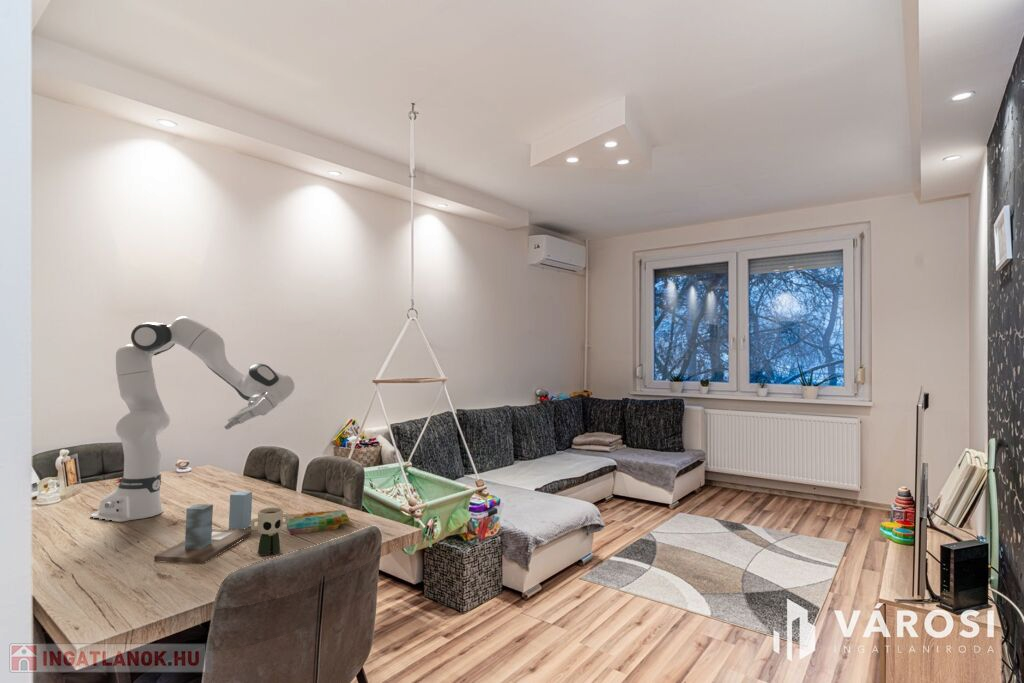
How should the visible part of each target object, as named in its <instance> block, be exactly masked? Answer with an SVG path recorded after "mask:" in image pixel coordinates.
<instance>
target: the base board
mask: <svg viewBox="0 0 1024 683" xmlns="http://www.w3.org/2000/svg"><path fill="white" fill-rule="evenodd" d="M213 511H214V504H206V503H205V504H203V503H197V504H195V505H193V506H189V507H187V508H186V516H185V535H184V538H185V539H184V541H181V542H179V543H177V544H175V545H174V546H172V547H169V548H168V549H166V550H164V551H161V552H160V553H157V554H156V555H154V558H153V561H154V562H158V561H166V562H165V563H178V562H182V564H198V563H204V564H206V563H207V562H206V561H208V560H209V561H211V560H212V559H211V558H213V557H214V558H216V557H217V556H219V555H220V554H219V553H221V552H222V553H224V552H225V551H224V550H226V549H227V550H229V549H230V548H229V547H231V546H232V545H234V544H236V543H237V542H239V541H240V540H242V539H244V538H246V537H247V538H249V537H250V536H251V535H252V530H229V529H220V528H219V529H218V528H217V529H216V528H215V529H214V528H213V513H214V512H213ZM249 535H250V536H249ZM248 536H249V537H248ZM247 538H246V539H247ZM244 540H245V539H244ZM242 541H243V540H242ZM239 543H240V542H239ZM237 544H238V543H237ZM237 544H236V545H237ZM234 546H235V545H234ZM232 547H233V546H232ZM232 547H231V548H232ZM228 548H229V549H228ZM227 550H226V551H227ZM223 551H224V552H223ZM222 553H221V554H222ZM218 554H219V555H218ZM216 555H217V556H216ZM215 556H216V557H215ZM214 558H213V559H214ZM210 559H211V560H210ZM209 561H208V562H209ZM183 562H184V563H183ZM205 562H206V563H205Z"/></svg>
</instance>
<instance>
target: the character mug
mask: <svg viewBox="0 0 1024 683" xmlns="http://www.w3.org/2000/svg"><path fill="white" fill-rule="evenodd" d="M289 514H290V513H284V508H282V507H277V506H276V507H275V506H274V507H272V506H271V507H266V508H262V509H260V510H258V512H257V518H251V526H250V531H254V530H257V532H258V534H261V535H260V537H259V542H258V548H257V553H258V554H259V555H261V556H270V555H271V553H272V555H274V554H277V553H279V552H280V551H281V543H280V535H279V532H281V531H282V529H283V526H284V525H287V524H288V523H289ZM284 518H285V520H284ZM283 520H284V521H283ZM256 522H257V526H255V523H256Z"/></svg>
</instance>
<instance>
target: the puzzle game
mask: <svg viewBox="0 0 1024 683" xmlns="http://www.w3.org/2000/svg"><path fill="white" fill-rule="evenodd" d="M288 514H289V523H288V524H286V528H287V529H286V530H288V532H289V534H290V535H296V533H298V534H303V533H304V534H306V533H305V532H307V533H313V532H312V531H316V532H322V531H321V530H325V531H332V530H331V529H334V530H337V529H338V528H339V526H340V525H345V524H348V523H350V518H349V515H348V514H347V512H346V510H345V509H338V510H326V511H314V512H313V511H311V512H310V511H307V512H303V513H301V512H300V513H288Z"/></svg>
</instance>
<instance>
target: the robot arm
mask: <svg viewBox="0 0 1024 683" xmlns="http://www.w3.org/2000/svg"><path fill="white" fill-rule="evenodd" d="M130 334H131V335H130V340H131V342H132V343H129V344H125V345H122V346H121V347H119V348H118V349H116V352H115V353H116V354H115V372H116V377H117V382H118V389H119V394H120V397H121V399H122V400H123V401H124V403H125V404H126V406H127V408H128V410H129V412H128V413H126V414H125V415H124V416H123V417H121V418H120V419H119V420H118V422H117V424H116V426H115V431H116V435H117V436H118V438H120V441H121V446H122V450H123V476H122V477H121V478H118V479H116V480H115V481H116V482H115V483H116V484H118V486H117V488H116V489H114V490H113V491H111V492H110V493H108V494H107V495H105V496H104V497H103V498H101V500H100V503H99V507H98V510H97V511H95V512H94V511H93V512H92V513H91V514H90V515H89V518H90V517H93V518H92V519H94V518H99V519H98V520H102V519H105V520H104V521H109V520H112V521H111V522H116V523H117V522H119V523H120V522H121V523H122V522H123V523H124V522H128V521H133V520H140V519H147V518H150V517H155V516H158V515H160V514H162V513H164V508H163V505H162V501H161V491H160V489H161V484H162V474H161V461H162V460H161V459H162V458H161V456H162V454H161V452H160V450H159V447H158V444H157V443H158V442H157V436H158V435H160V434H162V433H163V432H164V431H166V429H167V428H168V427H169V425H170V422H171V418H170V415H169V414H168V412H167V411H166V409H165V407H164V405H163V403H162V400H161V398H160V396H159V392H158V389H157V385H156V381H155V380H156V379H155V375H154V369H153V364H152V359H153V356H158V355H159V354H162V353H164V352H168V351H169V350H171V349H172V348H173V347H174V346H175V345H178V346H179V345H180V346H181V347H183V348H184V349H186V350H188V352H189V351H190V353H192V354H194V355H195V356H197V358H199V359H200V360H201V361H202V362H203V363H204V364H205V365H206V367H208V369H209V370H211V372H213V373H214V374H215V375H216V376H217V377H219V379H221V380H223V381H224V382H225V383H227V384H228V385H229V386H230V387H232V388H233V389H234V390H235V391H236V392H237V394H238V395H239V397H240V398H242V399H243V400H245V401H248V404H247V406H245V407H243V408H241V409H240V410H238V411H237V412H236V413H234V414H232V415H231V416H229V418H228V419H227V421H228V422H227V423H226V424H225V425H224V429H225V430H226V431H228V430H230V429H232V428H233V427H235V426H238V425H243V424H244V423H245V422H247V421H249V420H251V419H254V418H257V417H259V416H266V415H267V414H269V413H270V412H271V411H273V410H274V409H275V408H277V407H278V405H279V404H281V403H283V402H284V401H285V400H286V399H287V398H288V397H290V396H291V395H292V393H293V392H294V390H295V382H294V380H293V378H292V377H291V376H290V375H288V374H284V373H283V374H281V373H280V372H277V371H275V370H273V369H272V368H271V366H270V365H267V364H265V363H255V364H253V365H251V366H250V367H249V369H248V371H247V372H246V374H245V375H244V374H243V373H241V372H240V370H238V369H236V368H235V367H234V366H233V365H231V363H230V362H229V361H228V358H227V356H226V351H225V350H226V349H225V347H226V345H225V341H224V338H223V337H221V335H219V334H218V332H216V331H214V329H212V328H210V327H209V326H207V325H205V324H203V323H201V322H200V321H197V320H195V319H193V318H191V317H188V316H179V317H177V318H176V319H174V320H173V321H172V322H171V323H169V324H168V325H167V324H166V323H159V322H144V323H141V324H138V325H136V326H135V327H134V328H133V329H132V331H131V333H130Z"/></svg>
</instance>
